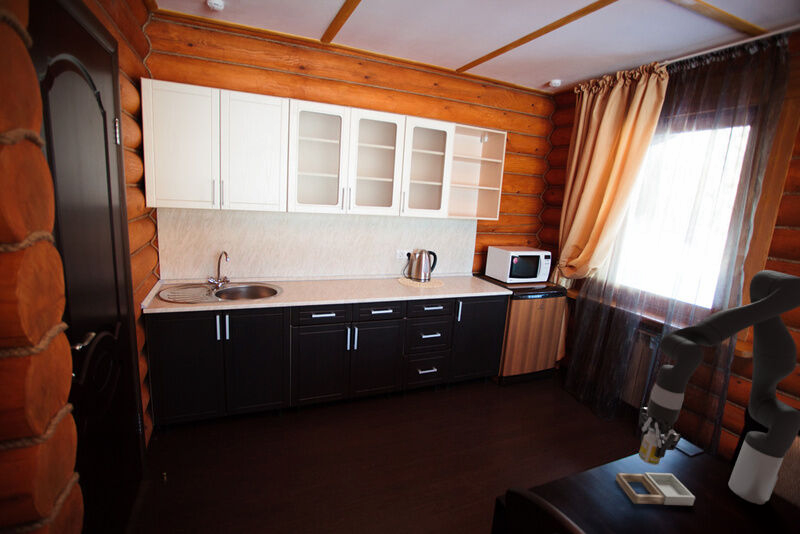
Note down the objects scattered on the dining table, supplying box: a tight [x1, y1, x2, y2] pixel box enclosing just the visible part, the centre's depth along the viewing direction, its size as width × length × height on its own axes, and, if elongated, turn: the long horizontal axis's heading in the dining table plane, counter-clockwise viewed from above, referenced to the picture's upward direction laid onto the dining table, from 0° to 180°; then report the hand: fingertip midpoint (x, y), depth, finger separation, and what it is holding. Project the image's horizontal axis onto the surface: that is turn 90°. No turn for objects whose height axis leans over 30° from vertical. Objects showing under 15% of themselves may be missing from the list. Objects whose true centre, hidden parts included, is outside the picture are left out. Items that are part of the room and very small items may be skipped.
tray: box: [643, 472, 696, 506], centre depth 119 cm, size 9×9×3 cm
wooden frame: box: [615, 472, 664, 505], centre depth 118 cm, size 9×9×2 cm
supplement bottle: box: [638, 428, 665, 466], centre depth 114 cm, size 5×5×10 cm
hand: (651, 449), depth 115 cm, fingers closed on supplement bottle, 5 cm apart
